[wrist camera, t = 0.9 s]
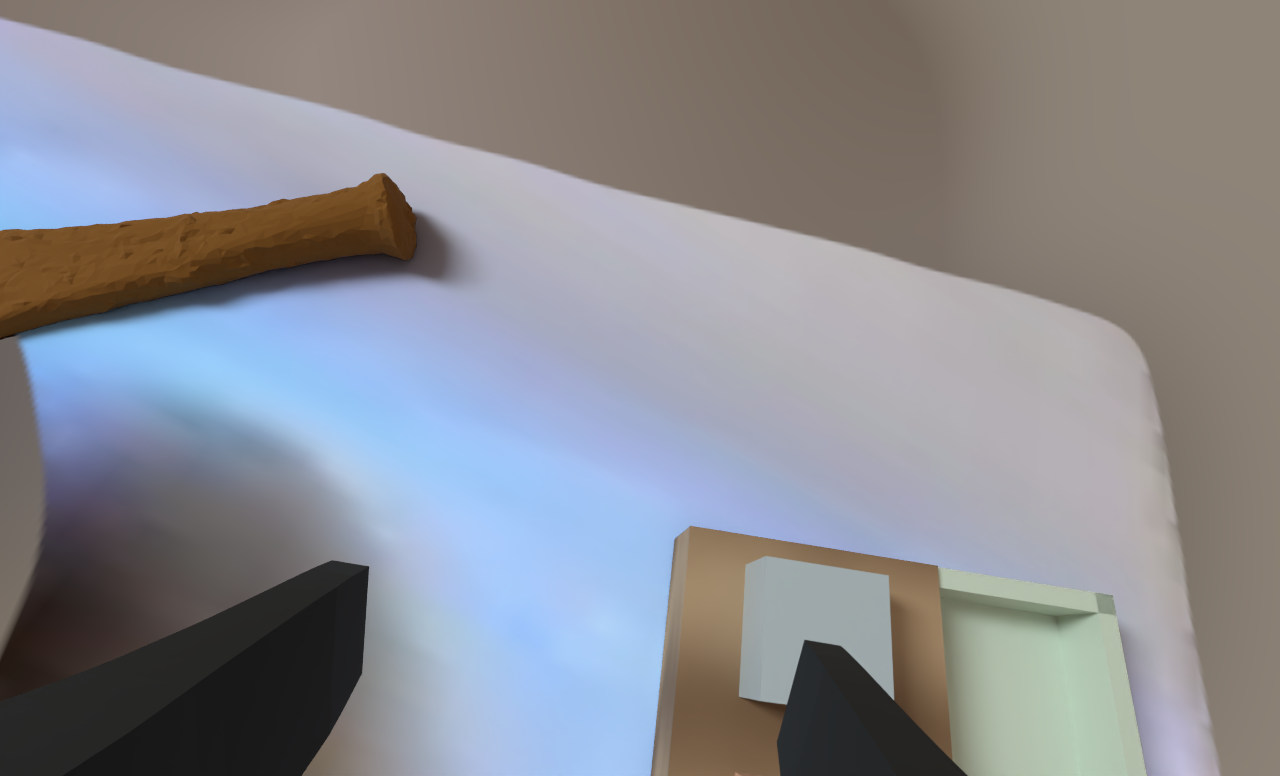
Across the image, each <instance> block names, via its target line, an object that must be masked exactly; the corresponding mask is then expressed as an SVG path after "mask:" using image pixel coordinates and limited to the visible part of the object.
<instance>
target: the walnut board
mask: <svg viewBox="0 0 1280 776" xmlns="http://www.w3.org/2000/svg"><path fill="white" fill-rule="evenodd" d="M765 556H769V557H776V558H782V559H788V560H794V561H801V562H807V563H813V564H820V565H826V566H832V567H838V568H845V569H851V570H857V571H864V572H870V573H876V574H882V575H889V593H890V616H891V639H892V661H893V684H894V701H895V702H896V703H897V704H898V705H899V706H900V707H901V708H902V709H903V710H904V711H905V712H906V714H907V715H908V716H909V717H910V718H911V719H912V720H913V721H914V722H915V723H916V724H917V725H918V726H919V727H920V728H921V729H922V730H923V731H924V732H925V733H926V734H927V735H928V736H929V737H930V738H931V740H932V741H933V742H934V743H935V744H936V745H937V746H938V747H939V748H940V749H941V750H942V751H943V752H944V753H945V754H946V755H947V756H948V757H949V758H950V759H951V760H952V761H953V759H952V746H951V733H950V720H949V707H948V694H947V681H946V668H945V655H944V642H943V629H942V616H941V603H940V590H939V577H938V566H935V565H929V564H923V563H917V562H910V561H904V560H898V559H892V558H886V557H879V556H873V555H867V554H861V553H855V552H849V551H842V550H836V549H830V548H824V547H818V546H812V545H805V544H799V543H793V542H787V541H781V540H774V539H768V538H762V537H756V536H750V535H744V534H737V533H731V532H725V531H719V530H713V529H707V528H700V527H694V526H690V527H689V528H687V529H686V530H685V531H684V532H683V533H681V534H680V535H679V536H678V537H677V538H675V541H674V551H673V561H672V571H671V581H670V591H669V601H668V611H667V621H666V631H665V641H664V650H663V660H662V670H661V680H660V690H659V700H658V710H657V720H656V730H655V740H654V750H653V760H652V770H651V776H735V772H740V773H748V774H756V775H764V776H780V767H779V758H778V749H777V739H778V736H779V732H780V728H781V724H782V721H783V717H784V713H785V710H786V706H787V705H786V704H778V703H771V702H764V701H758V700H753V699H748V698H743V697H739V684H740V664H741V645H742V625H743V606H744V586H745V567H746V564H749V563H751V562H753V561H756V560H758V559H760V558H762V557H765Z"/></svg>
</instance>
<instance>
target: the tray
mask: <svg viewBox="0 0 1280 776" xmlns="http://www.w3.org/2000/svg"><path fill="white" fill-rule="evenodd" d="M938 577H939V590H940V603H941V616H942V629H943V642H944V655H945V668H946V681H947V694H948V707H949V720H950V733H951V746H952V759H953V762H954V763H955V764H956V765H957V766H958V767H959V768H961V769H962V770H963V771H964V772H965V773H966V774H967V775H968V776H1147V774H1146V769H1145V764H1144V758H1143V753H1142V748H1141V743H1140V737H1139V732H1138V727H1137V722H1136V716H1135V711H1134V706H1133V701H1132V695H1131V690H1130V685H1129V680H1128V674H1127V669H1126V664H1125V659H1124V653H1123V648H1122V643H1121V638H1120V632H1119V627H1118V622H1117V617H1116V611H1115V606H1114V601H1113V596H1112V595H1106V594H1100V593H1094V592H1088V591H1082V590H1076V589H1069V588H1063V587H1057V586H1051V585H1045V584H1038V583H1032V582H1026V581H1020V580H1014V579H1008V578H1001V577H995V576H989V575H983V574H977V573H970V572H964V571H958V570H952V569H946V568H939V567H938Z"/></svg>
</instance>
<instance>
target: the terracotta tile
mask: <svg viewBox="0 0 1280 776" xmlns="http://www.w3.org/2000/svg"><path fill="white" fill-rule="evenodd" d="M735 776H764V775H756V774H748V773H740V772H735Z"/></svg>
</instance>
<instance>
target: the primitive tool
mask: <svg viewBox="0 0 1280 776" xmlns="http://www.w3.org/2000/svg"><path fill="white" fill-rule="evenodd" d="M416 219H417V218H416V216H415V215H414V214H413V212H412V208H411V207H410V205H409V204H408V203H407V202H406V200H405V196H404V195H403V193H402V192H401V191H400V190H399V188H398V186H397V185H396V184H395V183H394V182H393V181H392V180H391V179H390V178H389V177H388V176H387V175H386V174H385V173H381V174H375V175H374V176H373V177H371V178H370V179H369V180H368V181H366V182H362V183H361V184H360V185H358V186H357V187H352V188H345V189H341V190H338V191H334V192H331V193H328V194H321V195H313V196H308V197H302V198H296V199H292V200H287V199H280V200H277V201H273V202H271V203H269V204H268V205H263V206H258V207H253V208H248V209H232V210H226V211H220V212H204V213H198V212H195V213H192V214H182V215H178V216H174V217H168V218H153V219H144V220H133V221H125V222H121V223H118V224H95V225H90V226H76V227H64V228H59V229H34V230H21V229H11V230H2V231H0V340H2V339H5V338H9V337H14V336H17V333H20V332H24V331H27V330H31V329H34V328H38V327H41V326H45V325H49V324H53V323H57V322H60V321H64V320H69V319H74V318H79V317H84V316H88V315H92V314H97V313H103V312H107V311H109V310H112V309H114V308H118V307H122V306H125V305H128V304H132V303H138V302H144V301H151V300H155V299H158V298H162V297H165V296H169V295H174V294H178V293H183V292H187V291H192V290H196V289H200V288H203V287H207V286H212V285H222V284H225V283H228V282H230V281H234V280H237V279H241V278H244V277H248V276H251V275H254V274H257V273H262V272H264V271H269V270H274V269H279V268H283V267H285V268H290V267H293V266H297V265H302V264H306V263H311V262H315V261H321V260H332V259H335V258H339V257H346V256H354V255H364V254H371V255H376V254H380V253H384V254H387V255H390V256H392V257H397V258H400V259H402V260H409V259H411V258H412V257H413V254H414V251H415V248H416V246H417V244H416V231H415V223H416Z"/></svg>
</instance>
